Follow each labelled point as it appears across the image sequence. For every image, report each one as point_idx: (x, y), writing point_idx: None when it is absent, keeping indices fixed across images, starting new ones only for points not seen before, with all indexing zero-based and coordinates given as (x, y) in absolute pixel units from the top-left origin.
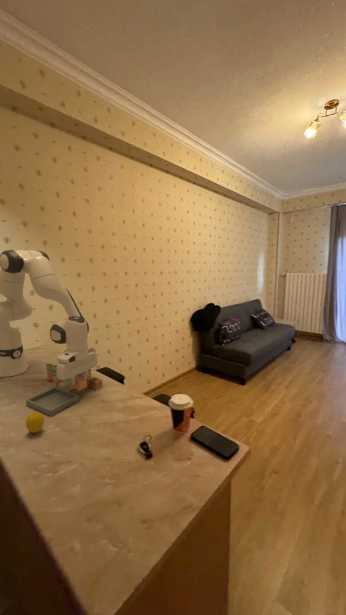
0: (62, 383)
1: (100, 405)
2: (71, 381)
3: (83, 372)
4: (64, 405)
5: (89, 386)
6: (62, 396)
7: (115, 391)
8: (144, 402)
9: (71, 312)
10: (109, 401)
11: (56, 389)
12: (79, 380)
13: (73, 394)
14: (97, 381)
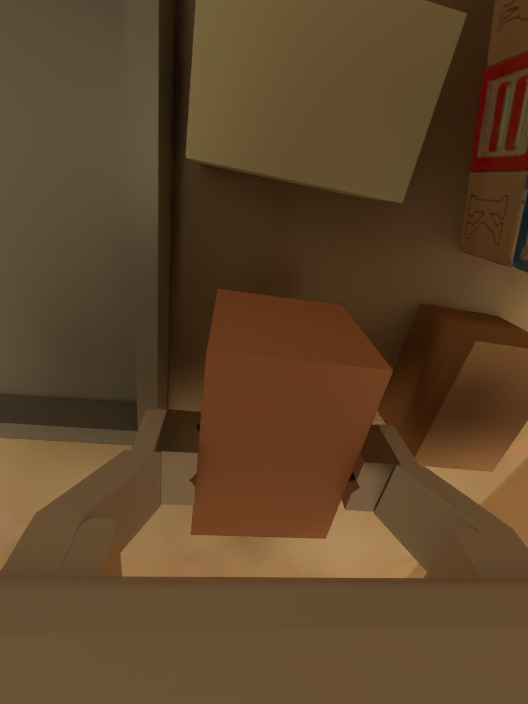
0: (254, 34)
1: (198, 540)
2: (136, 438)
3: (448, 514)
4: None
5: (416, 341)
6: (116, 226)
7: None
8: None
9: None
10: (262, 550)
11: (128, 19)
12: (235, 506)
13: (145, 388)
14: (444, 460)
